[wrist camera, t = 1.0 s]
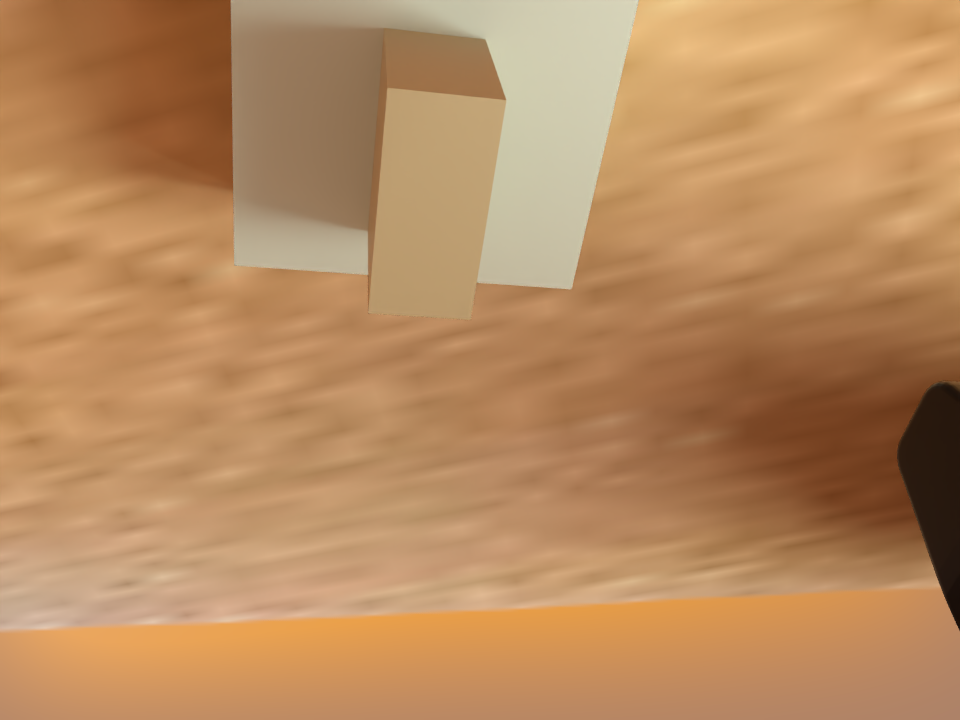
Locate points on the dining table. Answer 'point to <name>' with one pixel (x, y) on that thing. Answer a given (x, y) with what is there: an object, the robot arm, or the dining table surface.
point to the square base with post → (422, 140)
